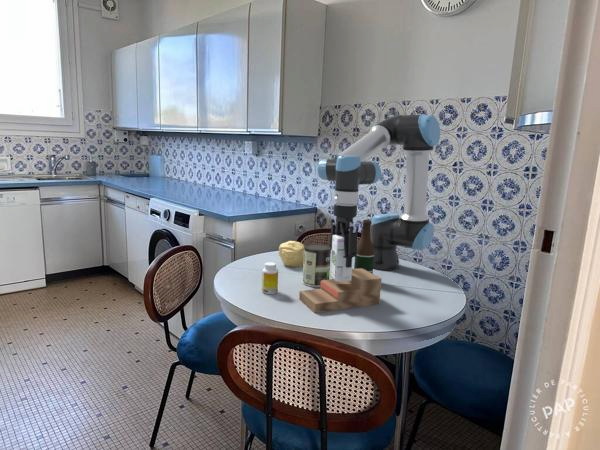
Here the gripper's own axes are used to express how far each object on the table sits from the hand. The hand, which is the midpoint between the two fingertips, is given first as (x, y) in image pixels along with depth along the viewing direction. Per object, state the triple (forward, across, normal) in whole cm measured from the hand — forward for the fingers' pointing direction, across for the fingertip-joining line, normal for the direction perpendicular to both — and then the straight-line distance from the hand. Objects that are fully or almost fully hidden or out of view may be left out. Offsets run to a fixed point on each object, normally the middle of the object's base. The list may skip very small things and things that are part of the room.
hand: (340, 273), depth 138 cm
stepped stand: (+10, 0, 0) cm, 10 cm away
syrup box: (+2, 0, 0) cm, 2 cm away
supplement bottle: (+10, -16, -19) cm, 27 cm away
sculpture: (+10, -44, +2) cm, 45 cm away
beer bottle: (+10, -17, +20) cm, 28 cm away
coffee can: (+10, -20, +1) cm, 22 cm away
